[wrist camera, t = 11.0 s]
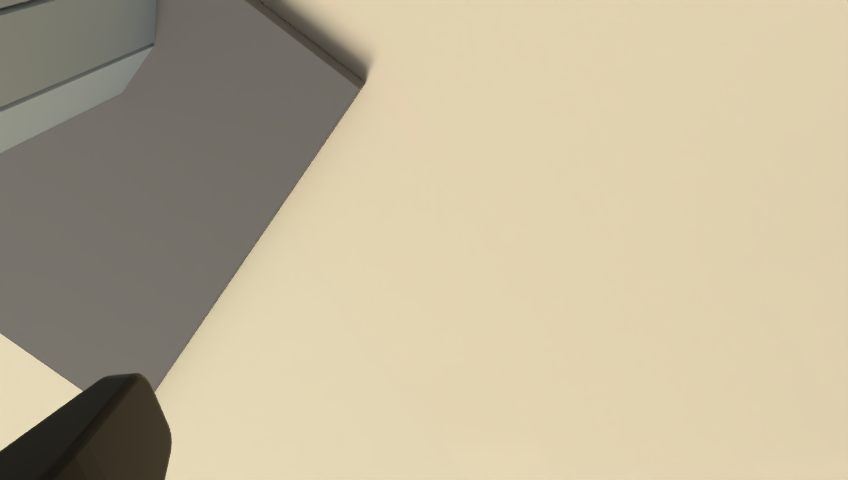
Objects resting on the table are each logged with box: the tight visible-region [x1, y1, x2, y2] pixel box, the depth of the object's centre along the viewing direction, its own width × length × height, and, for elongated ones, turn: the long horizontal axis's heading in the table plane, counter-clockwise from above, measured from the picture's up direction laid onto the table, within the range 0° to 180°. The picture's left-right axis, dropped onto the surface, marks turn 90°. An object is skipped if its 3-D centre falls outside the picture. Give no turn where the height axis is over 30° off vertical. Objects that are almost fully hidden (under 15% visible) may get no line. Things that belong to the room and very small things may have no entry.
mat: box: [0, 0, 365, 392], centre depth 22 cm, size 13×15×1 cm
